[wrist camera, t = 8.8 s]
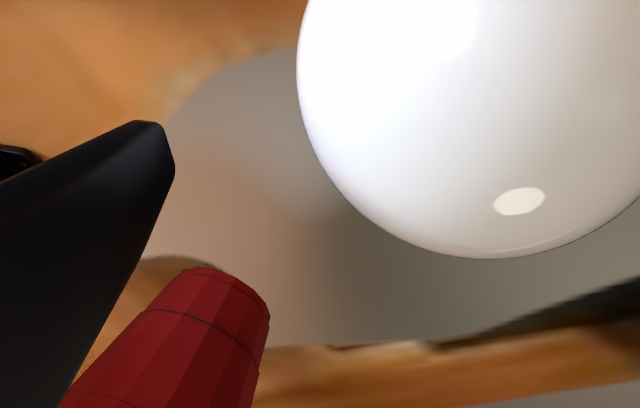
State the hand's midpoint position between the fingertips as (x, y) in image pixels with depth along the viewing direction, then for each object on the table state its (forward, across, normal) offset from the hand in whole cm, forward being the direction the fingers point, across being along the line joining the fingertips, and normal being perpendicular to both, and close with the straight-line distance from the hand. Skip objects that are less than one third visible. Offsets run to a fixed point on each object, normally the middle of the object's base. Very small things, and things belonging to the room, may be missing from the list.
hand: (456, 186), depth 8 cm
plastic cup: (+11, +13, +20) cm, 26 cm away
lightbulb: (+11, 0, 0) cm, 11 cm away
